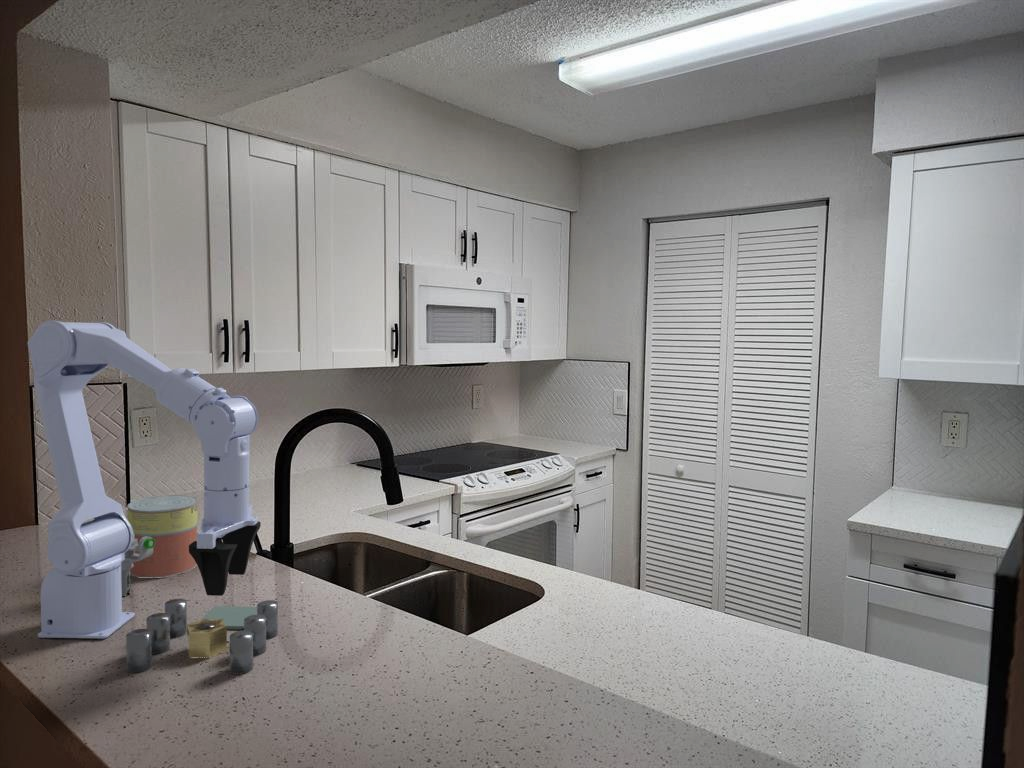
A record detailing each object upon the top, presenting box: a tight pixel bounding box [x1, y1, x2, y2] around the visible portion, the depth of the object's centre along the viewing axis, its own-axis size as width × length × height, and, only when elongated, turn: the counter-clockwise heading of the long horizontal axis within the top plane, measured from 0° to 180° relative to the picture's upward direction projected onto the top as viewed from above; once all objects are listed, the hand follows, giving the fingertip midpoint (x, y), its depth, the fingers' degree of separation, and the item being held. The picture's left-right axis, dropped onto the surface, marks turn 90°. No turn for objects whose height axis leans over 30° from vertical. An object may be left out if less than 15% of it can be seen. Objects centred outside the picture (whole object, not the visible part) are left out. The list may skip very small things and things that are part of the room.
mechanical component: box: [121, 533, 155, 597], centre depth 110 cm, size 3×10×10 cm, turn 78°
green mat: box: [200, 605, 257, 630], centre depth 102 cm, size 9×7×1 cm
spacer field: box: [125, 598, 279, 675], centre depth 92 cm, size 16×13×4 cm
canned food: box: [126, 494, 199, 578], centre depth 122 cm, size 11×11×12 cm
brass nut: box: [186, 618, 228, 659], centre depth 92 cm, size 5×5×4 cm
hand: (226, 583), depth 93 cm, fingers open, 7 cm apart
